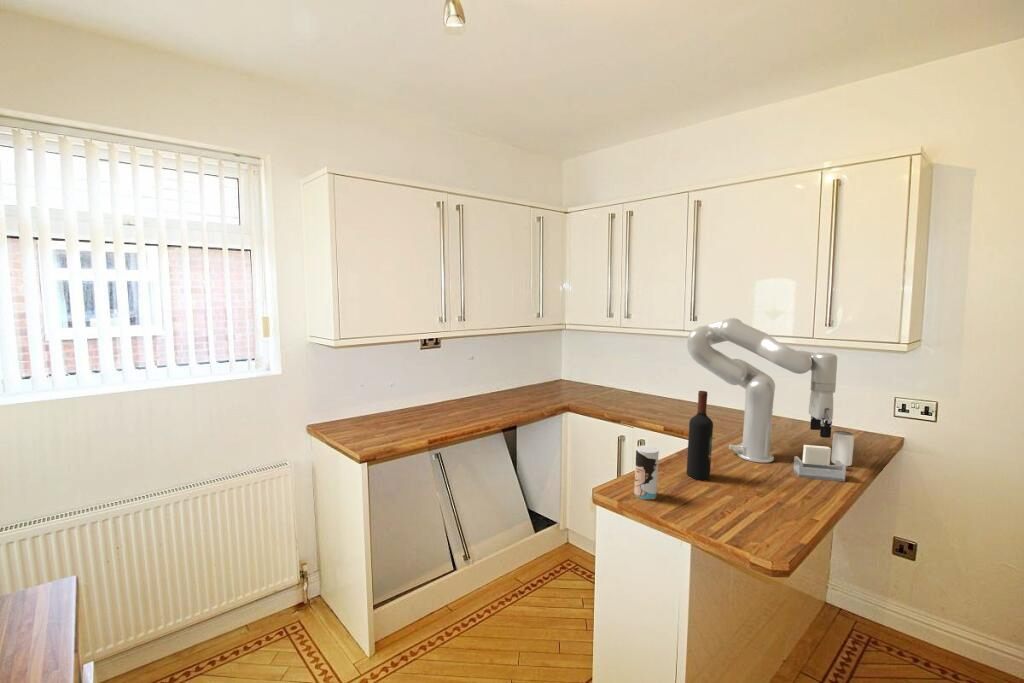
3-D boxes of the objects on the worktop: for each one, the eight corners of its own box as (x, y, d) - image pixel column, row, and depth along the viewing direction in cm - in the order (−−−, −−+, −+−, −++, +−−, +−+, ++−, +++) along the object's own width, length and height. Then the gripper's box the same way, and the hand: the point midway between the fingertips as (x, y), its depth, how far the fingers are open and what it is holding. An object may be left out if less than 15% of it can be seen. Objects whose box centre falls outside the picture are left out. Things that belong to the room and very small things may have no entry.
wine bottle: (683, 472, 169) (688, 389, 166) (705, 472, 169) (710, 389, 166) (690, 480, 162) (695, 393, 158) (713, 481, 162) (718, 394, 158)
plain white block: (804, 468, 175) (806, 446, 174) (801, 465, 178) (803, 444, 177) (829, 470, 173) (830, 449, 172) (826, 467, 176) (828, 446, 175)
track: (798, 477, 166) (799, 462, 165) (793, 470, 172) (794, 456, 171) (844, 481, 163) (846, 466, 162) (837, 475, 168) (838, 460, 168)
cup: (640, 489, 154) (642, 444, 153) (659, 495, 150) (662, 448, 148) (630, 495, 149) (632, 449, 148) (650, 502, 145) (652, 454, 143)
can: (831, 459, 184) (834, 429, 183) (852, 463, 180) (855, 432, 179) (829, 464, 179) (832, 433, 178) (850, 468, 175) (853, 436, 174)
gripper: (803, 382, 181) (800, 426, 183) (820, 391, 165) (817, 439, 166) (825, 383, 179) (822, 427, 181) (844, 392, 163) (841, 441, 164)
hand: (820, 433), depth 174 cm, fingers open, 9 cm apart
